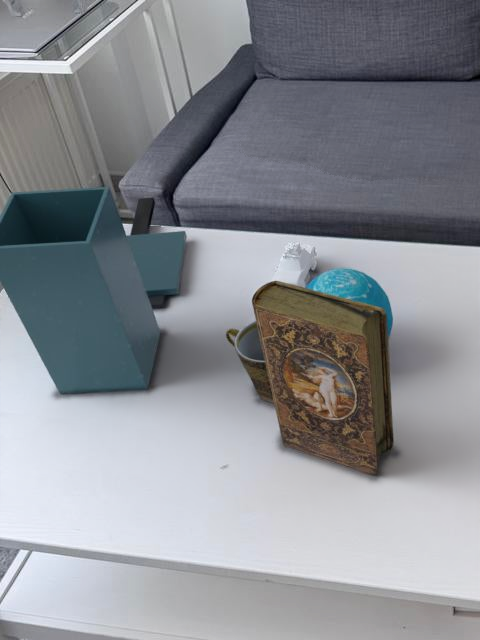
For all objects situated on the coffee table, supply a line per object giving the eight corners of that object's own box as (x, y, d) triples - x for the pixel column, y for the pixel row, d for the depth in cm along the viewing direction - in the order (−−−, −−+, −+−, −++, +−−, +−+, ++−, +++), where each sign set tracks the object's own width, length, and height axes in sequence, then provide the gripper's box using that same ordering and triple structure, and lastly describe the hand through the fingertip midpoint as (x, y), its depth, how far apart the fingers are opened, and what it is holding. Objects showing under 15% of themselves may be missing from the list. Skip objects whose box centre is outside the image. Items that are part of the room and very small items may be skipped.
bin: (147, 389, 118) (89, 243, 97) (59, 394, 118) (-18, 249, 97) (160, 332, 126) (109, 186, 106) (78, 337, 127) (11, 192, 106)
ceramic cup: (322, 379, 118) (315, 328, 110) (288, 420, 113) (278, 370, 105) (254, 355, 122) (242, 305, 114) (218, 394, 117) (203, 344, 109)
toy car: (269, 298, 131) (263, 265, 125) (290, 258, 138) (284, 225, 132) (302, 302, 130) (297, 268, 124) (321, 262, 137) (317, 228, 131)
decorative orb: (323, 320, 127) (312, 241, 115) (406, 336, 123) (404, 256, 111) (287, 378, 118) (271, 299, 106) (375, 397, 115) (370, 318, 103)
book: (277, 444, 110) (244, 303, 90) (295, 419, 113) (267, 278, 93) (378, 478, 105) (367, 337, 85) (394, 451, 108) (387, 309, 88)
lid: (178, 294, 131) (176, 288, 130) (75, 302, 131) (73, 296, 130) (192, 199, 150) (191, 194, 149) (103, 206, 150) (101, 201, 149)
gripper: (-75, -91, 99) (-26, 26, 110) (78, -101, 98) (113, 18, 109) (-60, -105, 103) (-13, 10, 114) (88, -114, 102) (120, 1, 113)
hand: (50, 13), depth 111 cm, fingers open, 8 cm apart
